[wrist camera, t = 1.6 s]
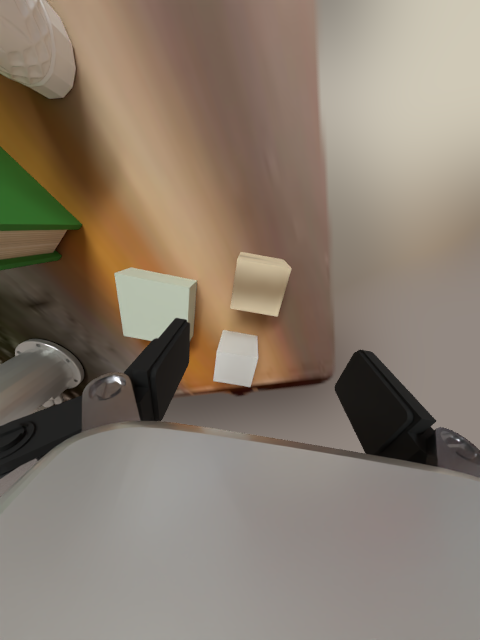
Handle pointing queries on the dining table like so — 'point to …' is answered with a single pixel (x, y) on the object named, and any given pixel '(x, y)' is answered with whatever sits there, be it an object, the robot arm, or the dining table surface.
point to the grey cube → (236, 358)
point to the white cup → (36, 47)
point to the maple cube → (259, 284)
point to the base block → (153, 302)
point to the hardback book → (28, 218)
